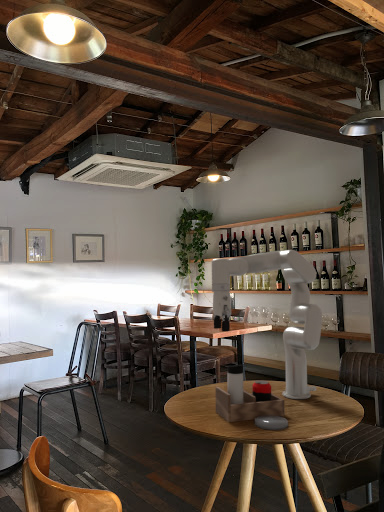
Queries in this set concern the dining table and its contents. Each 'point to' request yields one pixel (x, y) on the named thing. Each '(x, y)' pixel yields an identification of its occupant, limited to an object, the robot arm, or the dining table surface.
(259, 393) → the soda can
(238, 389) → the travel mug
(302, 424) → the dining table surface
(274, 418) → the grey round plate
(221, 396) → the walnut rack
